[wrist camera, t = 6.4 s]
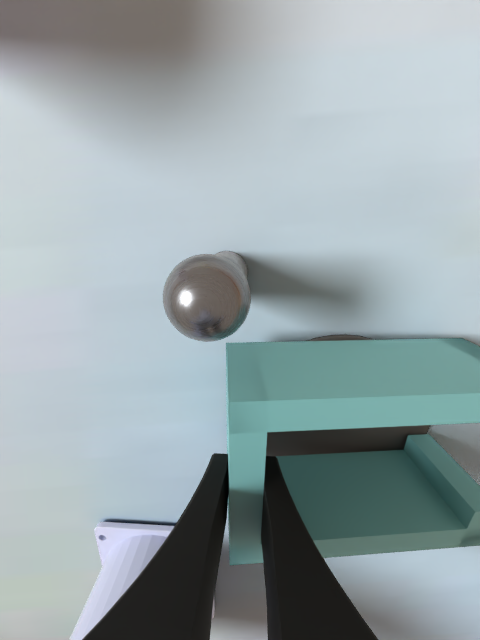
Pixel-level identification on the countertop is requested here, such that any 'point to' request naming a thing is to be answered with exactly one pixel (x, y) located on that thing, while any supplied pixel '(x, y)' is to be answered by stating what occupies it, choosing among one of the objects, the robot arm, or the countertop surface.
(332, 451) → the coaster
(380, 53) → the countertop surface
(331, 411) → the c link
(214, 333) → the cylinder
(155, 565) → the robot arm
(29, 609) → the countertop surface
